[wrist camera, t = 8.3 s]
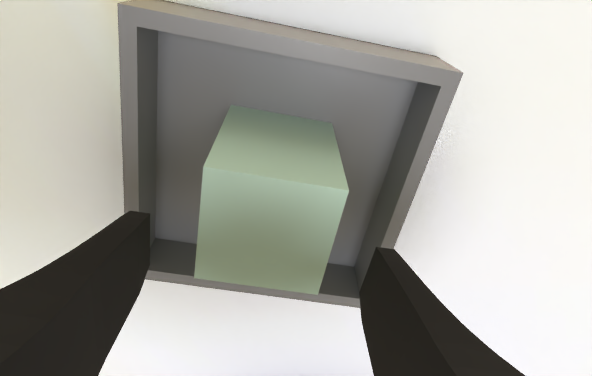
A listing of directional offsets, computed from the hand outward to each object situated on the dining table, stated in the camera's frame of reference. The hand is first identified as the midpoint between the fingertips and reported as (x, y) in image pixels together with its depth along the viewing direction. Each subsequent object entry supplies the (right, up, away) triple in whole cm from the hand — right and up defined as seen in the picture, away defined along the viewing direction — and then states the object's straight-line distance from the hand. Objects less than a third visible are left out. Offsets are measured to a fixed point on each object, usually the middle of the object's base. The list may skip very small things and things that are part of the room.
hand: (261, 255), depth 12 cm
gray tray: (0, +4, +6) cm, 7 cm away
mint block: (0, +4, +6) cm, 7 cm away
